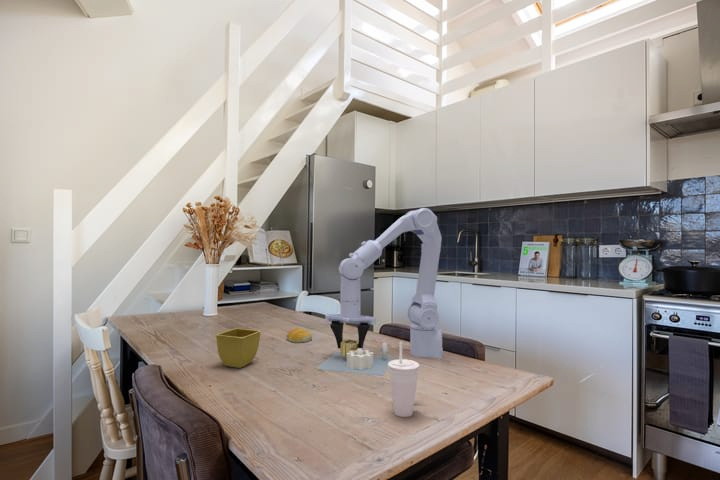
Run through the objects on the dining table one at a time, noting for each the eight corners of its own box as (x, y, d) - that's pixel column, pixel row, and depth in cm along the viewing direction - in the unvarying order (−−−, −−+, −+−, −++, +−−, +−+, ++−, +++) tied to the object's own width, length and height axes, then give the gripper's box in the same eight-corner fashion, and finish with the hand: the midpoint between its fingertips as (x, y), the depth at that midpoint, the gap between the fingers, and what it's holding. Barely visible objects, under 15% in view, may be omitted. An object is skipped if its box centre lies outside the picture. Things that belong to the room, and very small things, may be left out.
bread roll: (296, 345, 125) (296, 333, 126) (283, 339, 132) (283, 328, 132) (317, 341, 131) (317, 329, 131) (303, 336, 138) (303, 325, 138)
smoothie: (385, 406, 77) (385, 338, 78) (415, 405, 78) (415, 337, 78) (390, 420, 71) (390, 346, 71) (423, 419, 71) (423, 346, 72)
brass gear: (362, 352, 108) (362, 340, 108) (356, 357, 103) (357, 345, 103) (343, 350, 109) (344, 338, 109) (337, 355, 104) (338, 343, 104)
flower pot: (261, 362, 106) (261, 330, 107) (242, 371, 98) (242, 337, 98) (235, 358, 109) (235, 328, 109) (214, 368, 101) (215, 334, 101)
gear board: (395, 361, 107) (395, 341, 107) (382, 380, 92) (382, 357, 92) (336, 355, 112) (336, 336, 113) (315, 373, 97) (315, 351, 97)
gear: (375, 363, 102) (375, 350, 102) (368, 371, 95) (368, 357, 95) (351, 360, 104) (351, 348, 104) (343, 368, 97) (343, 355, 97)
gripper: (321, 301, 104) (321, 350, 104) (371, 303, 100) (371, 354, 100) (330, 298, 111) (330, 343, 111) (377, 300, 107) (377, 347, 107)
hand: (350, 348), depth 106 cm, fingers closed on brass gear, 5 cm apart
